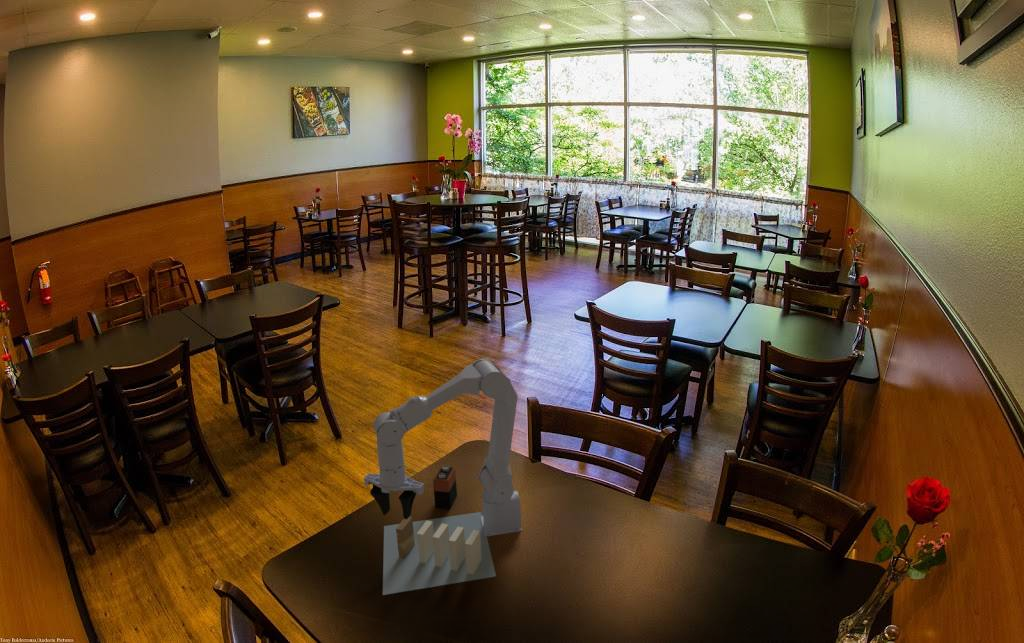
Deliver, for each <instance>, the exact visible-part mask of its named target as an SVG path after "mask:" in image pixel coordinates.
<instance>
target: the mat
mask: <svg viewBox="0 0 1024 643" xmlns="http://www.w3.org/2000/svg"><path fill="white" fill-rule="evenodd" d="M481 516H483V513H482V512H481V511H478V512H472V513H463V514H457V515H451V516H443V517H439V518H438V517H437V518H431V519H422V520H417V521H413V530H414V540H415V546H414V547H413V548H412V550H411V551H410V552H409V554H408V555H407V557H406V558H400V557H399V553H398V544H397V535H396V528H397V527H398V525H399V524H400V523H397V524H390V525H383V556H382V557H383V561H382V562H383V564H382V565H383V567H382V568H383V569H382V596H386V595H393V594H398V593H405V592H411V591H416V590H422V589H428V588H433V587H440V586H447V585H452V584H459V583H463V582H464V583H465V582H471V581H476V580H483V579H489V578H494V577H497V574H496V570H495V565H494V561H493V558H492V553H491V549H490V544H489V540H488V536H485V535H484V531H483V527H482V523H481V518H480V517H481ZM427 520H428V521H433V530H434V534H435V533H436V531H437V530H438V528H439V527H440V525H441V524H442V523H443V524H448V528H449V539H450V537H451V536H452V534H453V533H454V531H455V530H456V528H457V527H463V528H464V535H465V543H466V541H467V539H468V538H469V536H470V535H471V533H472V531H473V530H478V531H480V539H481V557H482V560H481V562H480V564H479V565H478V567H477V569H476V571H475V573H474V574H469V573H467V567H466V557H465V559H464V560H463V562H462V564H461V565H460V567H459V569H458V570H457V571H456V570H451V565H450V554H449V556H448V558H447V559H446V561H445V562H444V564H443V565H442V567H438V566H435V560H434V552H433V554H432V555H431V557H430V558H429V560H428V561H427V563H426V564H425V563H420V562H419V551H418V541H417V533H418V531H419V530H420V529H421V527H422V526H423V525H424V523H425V522H426V521H427Z"/></svg>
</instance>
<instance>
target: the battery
mask: <svg viewBox="0 0 1024 643" xmlns="http://www.w3.org/2000/svg"><path fill="white" fill-rule="evenodd" d="M432 484H433V485H432V488H433V498H434V507H435V509H441V510H451V508H452V506H453V504H454V502H455V500H456V499H457V497H458V491H457V489H458V487H457V476H456V468H455V467H453V466H452V467H451V466H450V465H449V464H444V465H442V466H440V467H439V469H438V470H437V472H436V474H435V476H434V477H433V479H432Z"/></svg>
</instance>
